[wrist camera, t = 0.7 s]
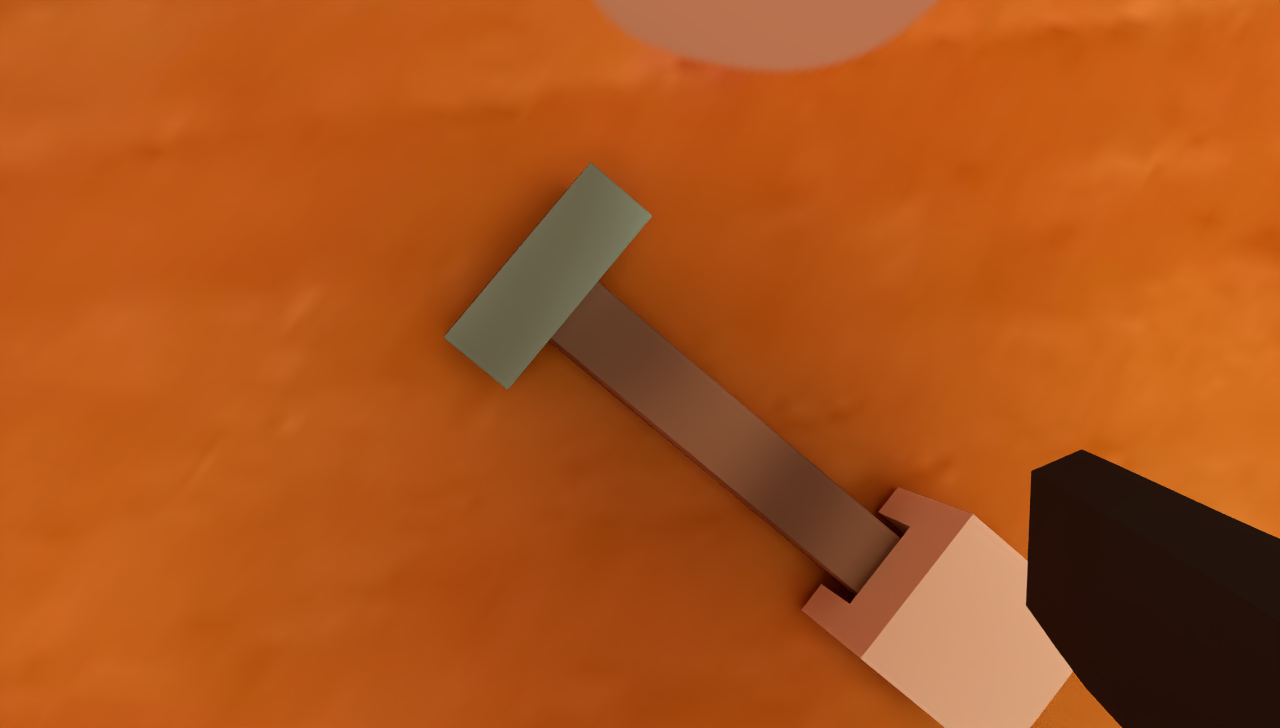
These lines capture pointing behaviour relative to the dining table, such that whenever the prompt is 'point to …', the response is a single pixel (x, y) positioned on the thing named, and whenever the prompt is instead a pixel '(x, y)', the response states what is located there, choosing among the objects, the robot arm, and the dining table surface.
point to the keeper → (949, 620)
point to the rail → (656, 375)
